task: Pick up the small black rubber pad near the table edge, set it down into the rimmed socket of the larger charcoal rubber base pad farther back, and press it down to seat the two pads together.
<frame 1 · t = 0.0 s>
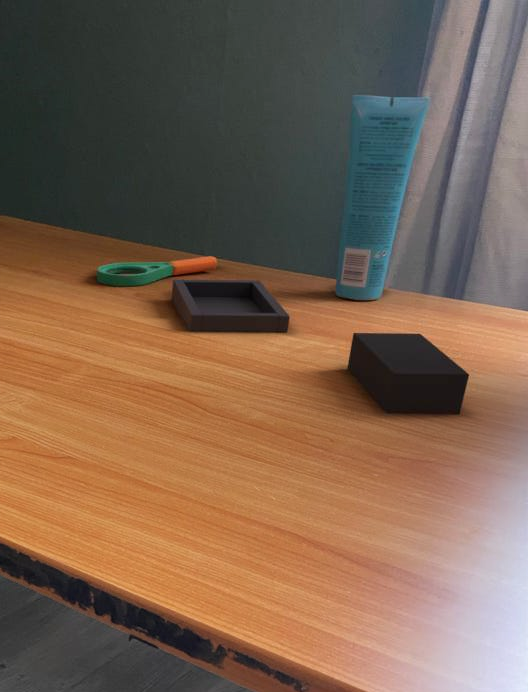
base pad: (225, 318, 100), on the table
black pad: (398, 397, 79), on the table
tube: (356, 297, 108), on the table
magnifying glass: (157, 278, 115), on the table
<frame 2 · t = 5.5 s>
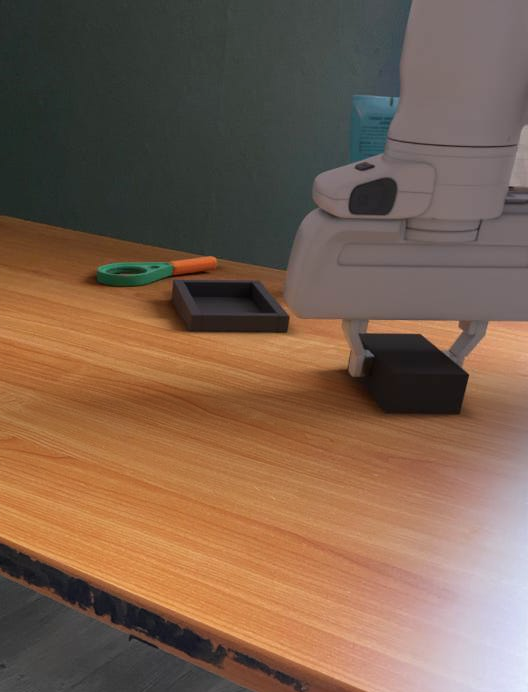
hand: (402, 375, 79), 2 cm above the table, tool pointing down, fingers closed on black pad, 5 cm apart
black pad: (398, 397, 79), on the table, touching gripper
everything else where it was.
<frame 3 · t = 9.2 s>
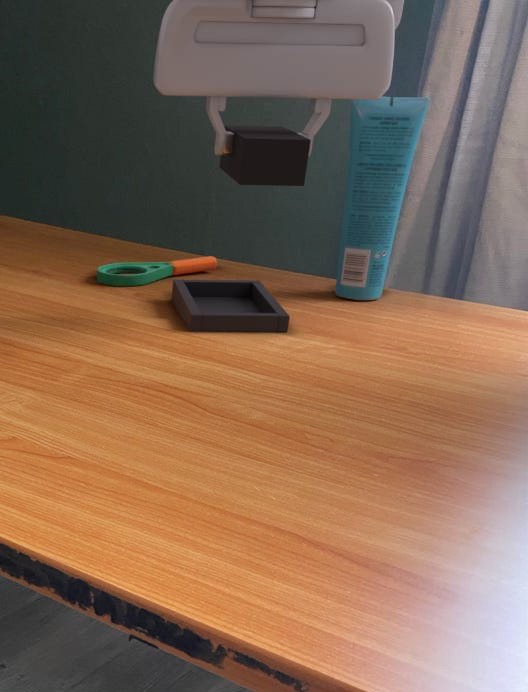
hand: (261, 155, 89), 15 cm above the table, tool pointing down, fingers closed on black pad, 5 cm apart
black pad: (259, 176, 90), point 13 cm above the table, touching gripper
everything else where it was.
when the fingers open (2 cm above the table, at t = 12.9 s): black pad stays where it is, resting on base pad.
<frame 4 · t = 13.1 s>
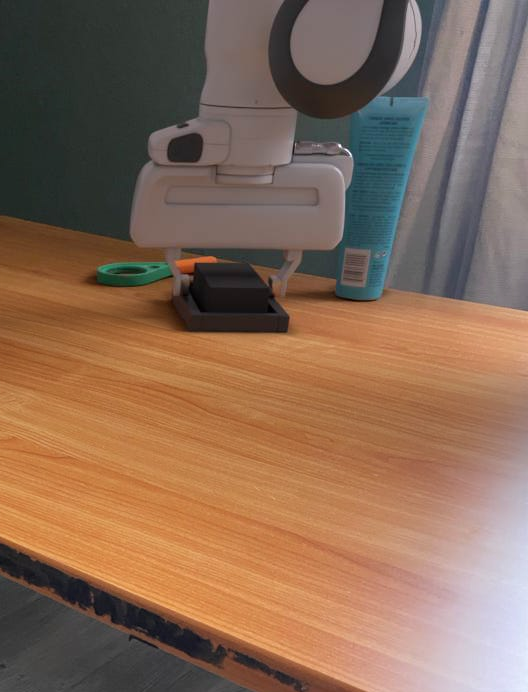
hand: (228, 295, 98), 2 cm above the table, tool pointing down, fingers open, 8 cm apart
black pad: (226, 312, 99), point 1 cm above the table, touching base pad
everything else where it was.
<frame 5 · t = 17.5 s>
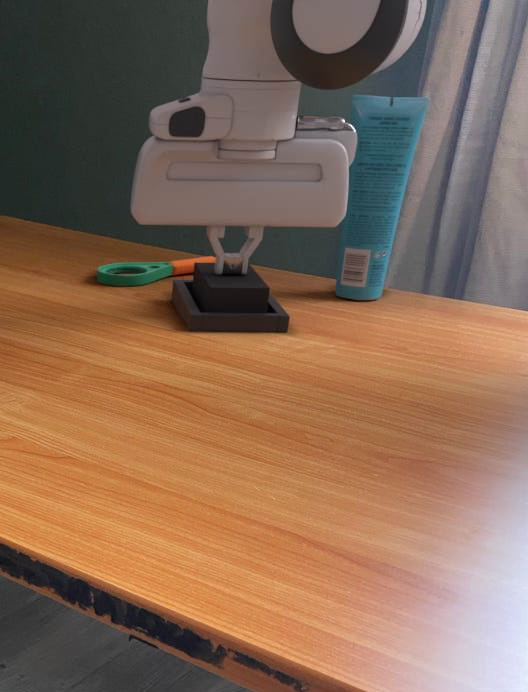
hand: (230, 274, 97), 4 cm above the table, tool pointing down, fingers closed, pressing on black pad
black pad: (226, 312, 99), point 1 cm above the table, touching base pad, gripper
everything else where it was.
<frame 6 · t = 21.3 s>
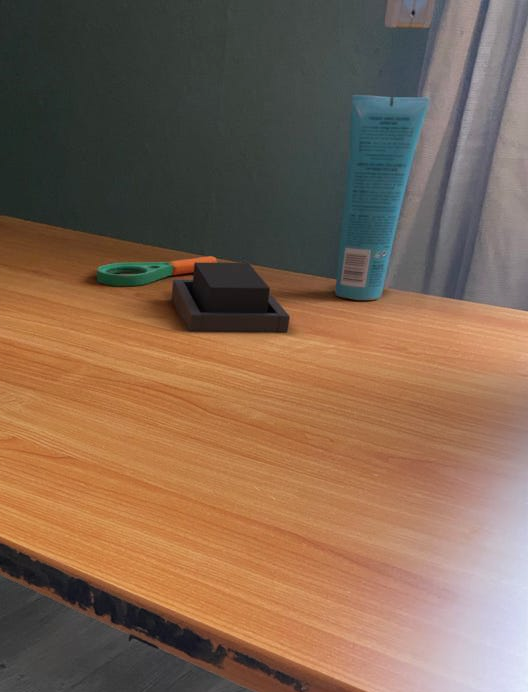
hand: (406, 27, 73), 25 cm above the table, tool pointing down, fingers closed
black pad: (226, 312, 99), point 1 cm above the table, touching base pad
everything else where it was.
at the end: black pad 0.0 cm off-centre in the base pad, point 0.6 cm above the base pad's base; black pad tilted 0°; the gripper is holding nothing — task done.
